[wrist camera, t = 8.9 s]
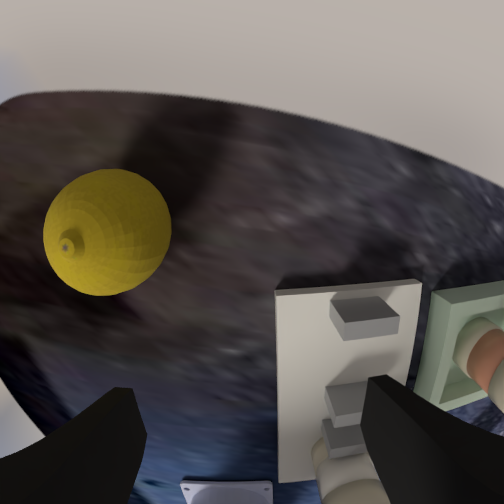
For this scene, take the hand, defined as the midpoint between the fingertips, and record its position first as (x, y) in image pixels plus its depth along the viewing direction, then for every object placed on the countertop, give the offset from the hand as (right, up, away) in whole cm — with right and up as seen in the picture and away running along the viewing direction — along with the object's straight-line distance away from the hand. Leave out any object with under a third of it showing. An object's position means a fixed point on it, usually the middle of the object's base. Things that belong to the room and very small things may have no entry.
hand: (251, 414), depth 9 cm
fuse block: (+6, -5, +11) cm, 14 cm away
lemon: (-6, +7, +9) cm, 13 cm away
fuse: (+7, -10, +11) cm, 16 cm away
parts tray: (+17, -2, +11) cm, 20 cm away
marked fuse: (+17, -2, +10) cm, 20 cm away
